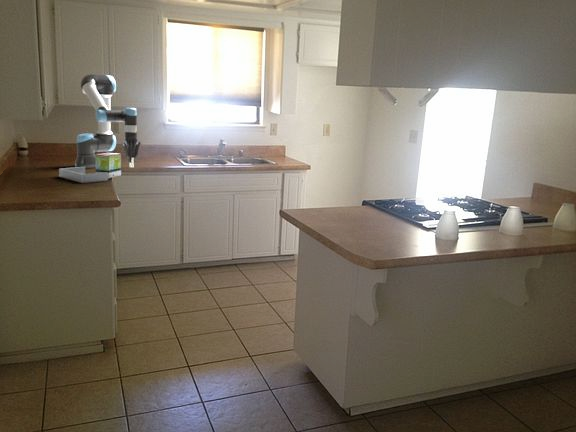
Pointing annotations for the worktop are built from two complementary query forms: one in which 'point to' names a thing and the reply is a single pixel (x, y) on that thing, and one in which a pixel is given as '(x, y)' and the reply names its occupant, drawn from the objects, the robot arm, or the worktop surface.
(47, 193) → the worktop surface
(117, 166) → the tea box
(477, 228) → the worktop surface
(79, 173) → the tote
